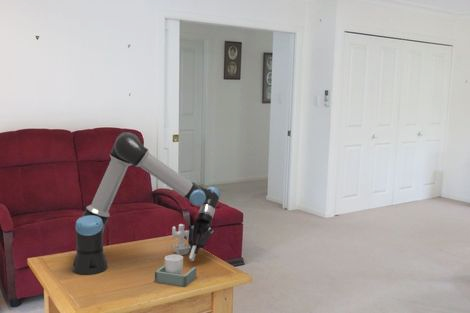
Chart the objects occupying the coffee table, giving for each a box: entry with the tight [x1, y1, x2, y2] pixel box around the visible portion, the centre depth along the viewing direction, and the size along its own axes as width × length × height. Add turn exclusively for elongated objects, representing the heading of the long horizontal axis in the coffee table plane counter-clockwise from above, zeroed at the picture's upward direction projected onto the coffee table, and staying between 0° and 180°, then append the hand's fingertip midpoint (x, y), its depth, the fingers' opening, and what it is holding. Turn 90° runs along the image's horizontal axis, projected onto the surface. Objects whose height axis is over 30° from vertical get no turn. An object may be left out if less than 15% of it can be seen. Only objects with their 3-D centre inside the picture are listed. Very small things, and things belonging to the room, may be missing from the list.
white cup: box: [164, 254, 184, 275], centre depth 205 cm, size 8×8×10 cm
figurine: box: [171, 223, 191, 256], centre depth 239 cm, size 7×9×15 cm
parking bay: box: [154, 264, 197, 288], centre depth 206 cm, size 14×11×4 cm
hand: (191, 259), depth 220 cm, fingers closed
